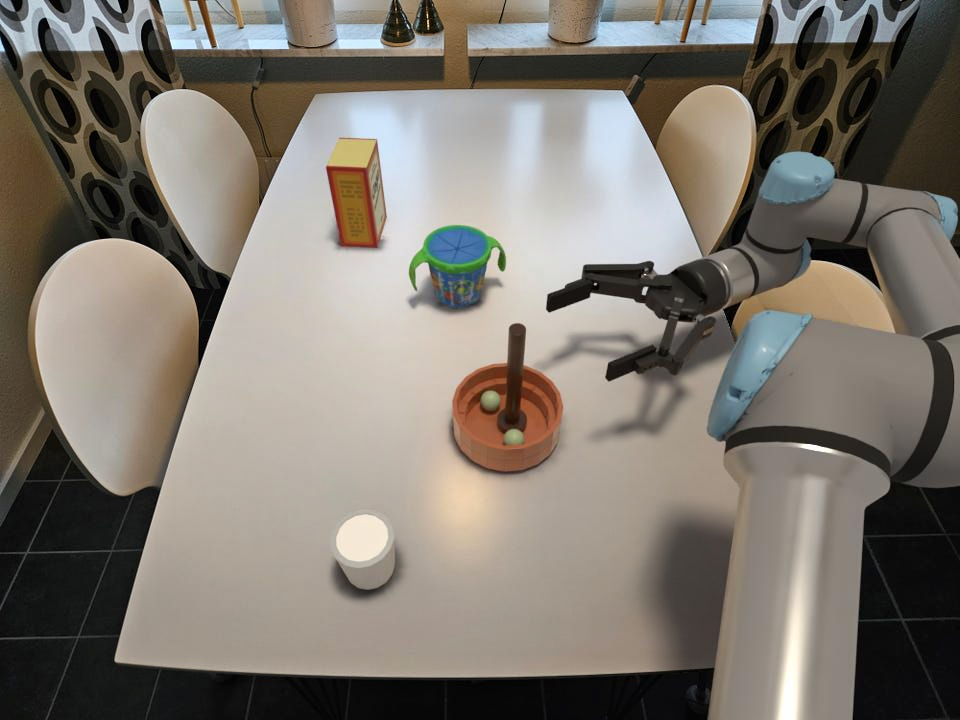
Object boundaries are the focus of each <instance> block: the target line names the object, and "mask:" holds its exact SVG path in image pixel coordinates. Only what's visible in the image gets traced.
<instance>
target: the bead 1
mask: <svg viewBox="0 0 960 720" xmlns="http://www.w3.org/2000/svg"><path fill="white" fill-rule="evenodd" d="M480 402H481V405H482V407H483V408H484V409H485V410H487V411H494V410H496V409H497V408H498V407H499V406H500V403H501V398H500V396H499V394H498V393H497V392H495V391H486V392H485V393H483V395H482V396H481V399H480Z"/></svg>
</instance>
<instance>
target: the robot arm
mask: <svg viewBox="0 0 960 720" xmlns="http://www.w3.org/2000/svg"><path fill="white" fill-rule="evenodd" d="M835 174H836V173H835V168H834V166H833V164H832V163H831V162H830V161H829V160H828V159H826V158H824V157H822V156H817V155H814V154H813V153H811V152H807V151H806V152H805V151H790V152H789V151H788V152H785V153H782V154H781V155H778V156H777V157H775V158H774V160H773V161H771V163H770V166H769V168H768V170H767V172H766V175H765V177H764V179H763V181H762V183H761V185H760V186H759V189H758V194H757V198H756V200H755V203H754V206H753V208H752V211H751V214H750V218H749V220H748V223H747V225H746V228H745V230H744V233H743V235H742V238H741V241H740V242H739V243H737V244H735V245H733V246H730V247H728V248H725V249H723V250H720V251H717V252H714V253H711V254H708V255H706V256H703V257H701V258H699V259H695V260H692V261H690V262H687V263H684V264H682V265H679V266H677V267H676V268H674V269H673V270H672V271H670V272H669V273H666V274H658V273H657V272H656V270H655V269H654V268H655V262H654V261H652V260H646V261H642V262H639V263H587V264H583V266H582V271H581V278H579V279H577V280H573V281H571V282H568V283H566V284H565V285H564V287H563V288H561V289H558V290H555V291H553V292H550V293H547V295H546V305H545V310H546V312H548V314H549V313H553V312H555V311H558V310H561V309H563V308H566V307H569V306H571V305H574V304H578V303H579V302H583V301H585V300H588V299H590V298H591V294H594V295H595V294H596V295H602V296H608V297H609V296H610V297H615V298H623V299H628V300H629V299H630V300H634V302H635V303H638V304H642V305H643V304H644V306H645V307H646V308H647V309H649V310H650V311H652V312H653V314H654V315H655V317H656V318H658V319H659V320H661V319H662V320H664V321H666V324H665V328H664V331H663V334H662V337H661V341H660V344H659V348H657V347H656V345H654V344H650V345H647V346H645V347H643V348H640V349H637V350H636V351H633V352H630V353H627V354H626V355H623V356H620V357H618V358H616V359H614V360H611V361H609V362H608V363H607V366H606V371H605V375H604V378H605V380H606V381H607V382H608V383H609V382H612V381H614V380H616V379H619V378H621V377H624V376H627V375H628V374H631V373H633V372H635V373H636V374H637V375H642V374H645V373H646V372H649V371H651V370H654V369H656V368H664V369H666V370H668V374H669V375H671V376H678V375H679V374H680V372H681V370H682V369H683V368H684V367H685V365H686V363H687V362H688V360H689V359H690V357H691V356H692V355H693V353H694V352H695V350H696V349H697V348H698V346H699V345H700V343H701V342H702V341H704V340H705V339H707V338H709V337H711V335H712V334H713V331H714V329H715V326H716V322H717V319H716V317H714V316H711V315H712V314H715V313H717V312H719V311H721V310H724V309H726V308H729V307H731V306H734V305H736V304H738V303H741V302H744V301H746V300H748V299H751V298H753V297H755V296H757V295H761V294H763V293H766V292H768V291H771V290H774V289H777V288H778V289H779V288H781V287H784V286H785V285H787V284H789V283H791V282H793V281H794V280H797V279H798V278H800V277H802V276H803V275H804V274H805V273H806V272H807V271H808V269H809V268H810V266H811V263H812V258H811V252H812V248H811V244H810V243H809V240H808V239H807V238H812V239H818V240H825V241H829V242H834V243H835V242H836V243H841V244H844V245H845V244H846V245H850V246H856V247H862V248H866V250H867V252H868V255H869V258H870V261H871V264H872V267H873V270H874V272H875V276H876V278H877V281H878V284H879V288H880V290H881V293H882V296H883V299H884V302H885V305H886V308H887V311H888V314H889V317H890V320H891V323H892V326H893V329H894V332H891V331H886V330H881V329H875V328H870V327H864V326H858V325H854V324H848V323H842V322H837V321H832V320H828V319H822V318H817V317H814V314H812V313H811V312H807V313H804V314H802V313H801V314H800V313H794V312H787V311H781V310H774V309H766V310H762V311H759V312H757V313H755V314H754V315H753V316H751V317H750V318H749V319H748V320H747V322H746V323H745V325H744V327H743V328H742V330H741V331H740V333H739V335H738V337H737V339H736V342H735V344H734V346H733V349H732V350H731V353H730V355H729V358H728V360H727V363H726V364H725V367H724V369H723V372H722V375H721V378H720V381H719V383H718V385H717V389H716V392H715V395H714V396H713V401H712V404H711V406H710V410H709V413H708V419H707V426H706V433H707V434H708V436H710V438H712V439H714V440H715V441H716V442H718V443H721V442H725V444H724V445H725V447H724V453H723V458H722V466H723V468H724V469H725V471H726V472H727V473H728V475H729V476H730V477H731V478H732V479H733V480H734V482H735V483H736V484H737V486H738V488H739V490H738V497H737V505H736V511H735V512H736V513H735V518H734V526H733V534H732V540H731V548H730V555H729V562H728V570H727V577H726V584H725V592H724V597H723V598H724V599H723V606H722V612H721V613H722V614H721V621H720V627H719V634H718V643H717V648H716V656H715V662H714V663H715V664H714V669H713V670H714V671H713V678H712V685H711V693H710V699H709V707H708V714H707V720H853V713H854V697H855V681H856V679H855V678H856V664H857V646H858V645H857V644H858V626H859V610H860V593H861V592H860V591H861V578H862V577H861V575H862V559H863V557H862V556H863V539H864V524H865V523H864V522H865V521H864V520H865V510H866V508H867V507H868V506H870V505H871V504H873V503H875V502H876V501H877V500H879V499H880V498H882V497H883V496H885V495H886V494H888V492H889V490H890V489H891V482H895V483H899V484H904V485H908V486H913V487H917V488H929V489H930V488H932V489H942V488H954V487H960V257H959V255H958V254H957V251H956V250H955V248H954V247H953V245H952V243H951V240H952V239H953V237H954V234H955V232H956V228H957V225H958V221H959V220H958V219H959V217H958V211H959V207H958V204H957V203H956V202H955V200H953V199H952V198H950V197H948V196H944V195H940V194H939V195H938V194H935V193H931V192H929V191H926V190H925V191H924V190H913V189H904V188H897V187H892V186H885V185H884V186H883V185H877V184H870V183H864V182H859V181H853V180H847V179H840V178H835ZM644 288H647V290H646V292H645V294H643V291H644ZM679 322H680V323H689V324H690V323H691V324H692V323H693V325H692V326H693V327H692V329H691V330H690V332H689V333H688V334H687V335H686V338H685V339H684V340H683V341H682V343H681V344H680V345H679V347H678V349H677V350H676V351H675V353H674V354H673V353H671V352H670V350H671V346H672V343H673V339H674V336H675V332H676V330H677V329H676V328H677V326H678V323H679ZM657 349H658V350H657Z"/></svg>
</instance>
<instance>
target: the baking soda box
mask: <svg viewBox="0 0 960 720" xmlns="http://www.w3.org/2000/svg"><path fill="white" fill-rule="evenodd" d="M378 144H379V143H378V139H377V138H359V137H357V138H355V137H338V139H337V141H336V143H335V146H334V148H333V150H332V152H331V154H330V157H329V159H328V161H327V164H326V166H325V171H326V175H327V180H328V181H327V182H328V186H329V191H330V196H331V200H332V204H333V205H332V207H333V211H334V216H335V222H336V227H337V231H338V237H339V242H340V246H341V247H350V248H351V247H352V248H373V249H379V248H378V247H379V244H380V241H381V237H382V234H383V230H384V228H385V224H386V220H387V218H388V217H387V208H386V207H387V206H386V199H385V192H384V183H383V176H382V166H381V160H380V152H379V145H378Z"/></svg>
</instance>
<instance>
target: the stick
mask: <svg viewBox="0 0 960 720" xmlns="http://www.w3.org/2000/svg"><path fill="white" fill-rule="evenodd" d="M526 337H527V328H526V326H525V325H524V324H523V323H521V322H515V323H512V324H510V325H509V327H508V339H507V356H506V358H507V360H506V363H507V379H506V401H505V409H503V410H501V411H500V412H499V414H498V417H497V426H498V429H499V430H500V431H501V432H502V433H504V434H505V433H506V432H507V431H508V430H511V429H517V430H519V431H521V432H523V431H524V430H525V429H526V426H527V416H526V414H525V413H524V412H523V411H522V410H521V409H520V408H521V394H522V380H523V367H524V365H525V353H526V351H525V350H526Z"/></svg>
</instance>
